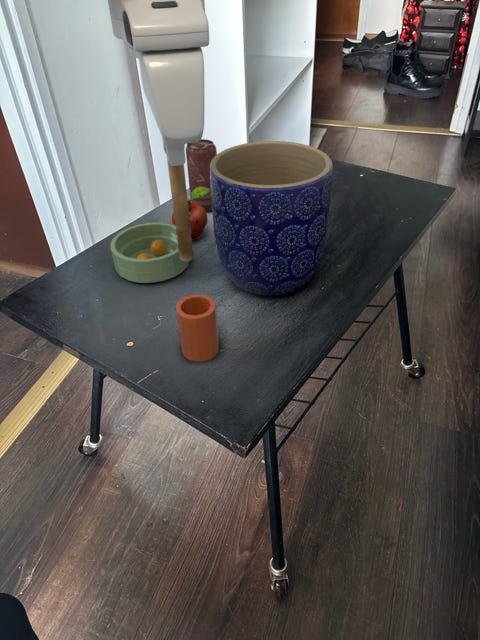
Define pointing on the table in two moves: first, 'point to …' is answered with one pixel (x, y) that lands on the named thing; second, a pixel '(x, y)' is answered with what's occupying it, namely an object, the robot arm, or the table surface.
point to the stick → (181, 211)
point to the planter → (270, 213)
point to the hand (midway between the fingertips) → (174, 158)
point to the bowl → (138, 242)
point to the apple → (196, 213)
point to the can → (200, 169)
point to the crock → (198, 327)
